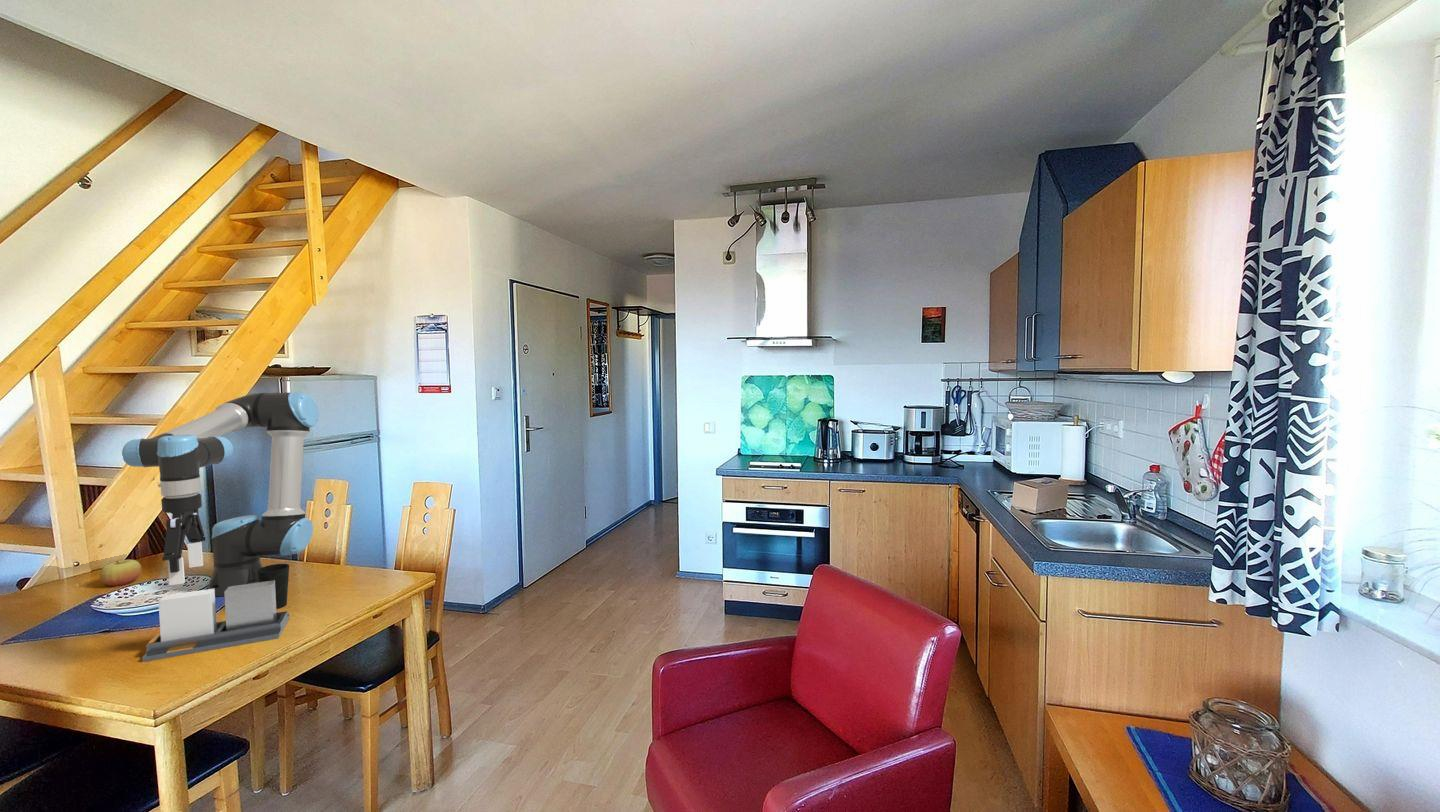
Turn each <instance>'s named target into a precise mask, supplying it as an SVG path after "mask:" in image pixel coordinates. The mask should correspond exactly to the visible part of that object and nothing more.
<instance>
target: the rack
mask: <svg viewBox="0 0 1440 812" xmlns="http://www.w3.org/2000/svg"><path fill="white" fill-rule="evenodd" d="M224 594H225V596H224V608H225V610H224V611H225V620H222V621H216V625H217V631H216V632H215V633H212V634H206V635H200V636H194V637H188V638H181V639H175V640H169V641H163V642H161V634H160V631H158V633H156V634H155V635H154V636H153V637H152V639H151V640H149V641H148V643H147V644H146V645H145V648H146V650H145V651H146V653H145V654H144V655H143V656H142V657H141V659H142V663H143V662H151V661H155V660H156V661H157V660H162V659H167V658H172V657H177V656H178V657H179V656H184V655H190V654H195V653H201V652H209V651H213V650H217V649H223V648H231V647H236V646H241V645H248V644H252V643H259V642H258V641H260V642H264V640H265V641H270V640H276V639H280V637H281V635H282V633H283V631H284V629H285V627H286V626H287V624H288V622H289V620H290V614H289V613H288V611H287V610H286V611H279V612H277V609H276V592H275V580H274V581H266V582H259V583H252V584H244V585H237V586H230V587H228V588H227V589H226V590H225V592H224Z"/></svg>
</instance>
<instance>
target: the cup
mask: <svg viewBox="0 0 1440 812" xmlns="http://www.w3.org/2000/svg"><path fill="white" fill-rule="evenodd" d="M257 573H258V579H259V582H266V581H274V580H275V592H276V610H278V609H279V610H280V609H281V608H284V607H286V606H287V605H288V593H289V592H288V591H289V579H290V578H289V575H290V565H289V564H288V563H275V564H274V563H273V564H270V565H265V566H263V567H262V568H260V569H258V570H257Z"/></svg>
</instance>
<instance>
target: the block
mask: <svg viewBox="0 0 1440 812" xmlns="http://www.w3.org/2000/svg"><path fill="white" fill-rule="evenodd" d="M216 607H217V606H216V596H215V589H208V588H207V589H201V590H193V591H186V592H180V593H179V592H178V593H172V594H165V595H163V596H162V597H160V598H159V600H158V612H159V614H158V615H159V616H158V617H159V632H160V634H161V642H163V641H169V640H175V639H181V638H188V637H194V636H200V635H206V634H212V633H215V632H216V631H217V625H216V622H217V611H216V610H217V609H216Z"/></svg>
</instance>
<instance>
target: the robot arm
mask: <svg viewBox="0 0 1440 812" xmlns="http://www.w3.org/2000/svg"><path fill="white" fill-rule="evenodd" d="M318 421H319V408H318V405H317V402H316V401H315V399H314V398H313V397H312V396H311V395H310V394H307V393H304V392H294V391H293V392H292V391H291V392H256V393H255V392H254V393H250V394H247V395H243V396H239V397H237V398H234V399H232V400H228V401H226V402H224V403H222V404H220V405H217V406H216V408H215V410H214V411H211V412H209V413H207V414H204V415H202V416H200V417H198V418H194V419H192V420H191V421H188V422H186V423H184V424H182V425H179V426H177V427H174V428H172V429H170V430H168V431H165V432H162V433H161V434H158V435H155V436H153V437H151V438H137V439H135V438H133V439H130V440H129V441H127V442H126V443H125V444H124V445H123V447H122V450H121V455H122V460H123V461H124V463H125V464H127V465H128V466H130V467H135V468H136V467H137V468H139V467H140V468H141V467H143V468H152V467H153V468H154V467H158V468H159V469H158V470H159V483H158V484H157V487H158V488H160V495H161V496H162V498H161V499H160V500H161V501H160V502H161V511H162V513H166V514H172V515H171V519H169V518H168V519H166V520H165V521H166V522H165V524H166V533H165V541H164V547H163V548H164V549H163V557H161V559H162V561H163V562H164V561H167V567H168V568H167V569H168V584H169V586H175V585H182V584H185V582H186V579H185V567H184V557H182V555H183V549H184V544H185V540H186V539H187V540H188V543H187V554H188V568H189V569H190V568H195V567H203V566H204V558H203V544H202V543H203V542H206V540H207V539H206V538H207V537H206V536H205V533H204V529H203V525H202V521H201V518H200V515H199V509H200V508H201V507H202V506H203V504H202V503H203V501H202V494H201V493H200V492H202V486H201V485H202V484H201V474H200V468H204V467H208V466H212V465H219V464H220V463H223V462H225V461H227V460H229V459H230V458H231V457H232V455H233V453H234V445H233V444H232V442H231V441H230V440H229V439H228V438H227V437H223V435H224V436H225V434H228V433H230V432H239V431H241V430H243V429H248V428H266V433H267V434H268V435H269V436H271V451H270V467H269V468H270V469H269V484H268V485H269V486H268V502H267V504H268V505H267V509H266V511H265V512H264V513H262V515H261V519H260V518H259V515H257V514H249V515H242V516H237V517H232V518H228V519H225V520H221V521H218V522H217V523H215V524H214V525H213V526H212V529H211V530H212V531H211V532H212V534H211V540H212V542H211V543H212V555H213V556H212V557H213V571H212V574H211V577H210V580H209V582H208V586H207V589H215V597H225V594H224V592H225V590H226V589H227V588H228V587H230V586H237V585H244V584H252V583H259V579H258V573H257V570H258V569H260V568H262V567H264V566H263V563H262V562H261V557H266V556H267V557H268V556H283V557H285V556H289V555H297V554H300V553H302V552H304V550H305V549H306V548H307V547H308V545H309V544H310V541H311V539H312V536H313V532H314V525H313V521H311V519H310V518H307V517H306V512H305V511H304V510H303V509H302V508H301V500H302V497H301V496H302V482H303V481H302V480H303V462H304V461H303V460H304V444H305V443H304V442H305V440H304V439H305V437H306V436H307V435H308V434H310V431H311V430H310V428H312V427H314V426H316V425H317V423H318ZM185 538H186V539H185Z"/></svg>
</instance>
